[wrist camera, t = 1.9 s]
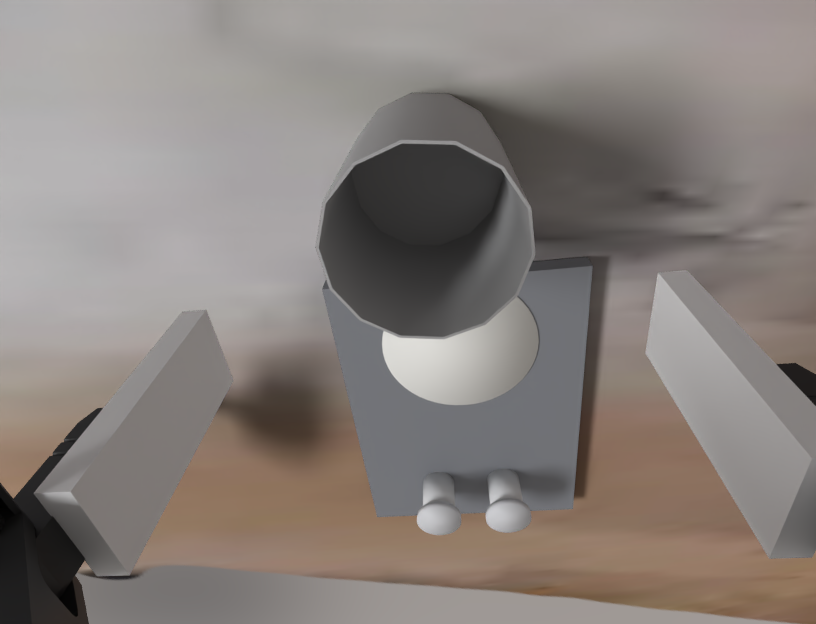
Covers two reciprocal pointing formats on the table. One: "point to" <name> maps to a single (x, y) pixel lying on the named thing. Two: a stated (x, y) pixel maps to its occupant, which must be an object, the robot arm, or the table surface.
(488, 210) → the cup
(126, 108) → the table surface
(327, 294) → the board
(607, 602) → the table surface
